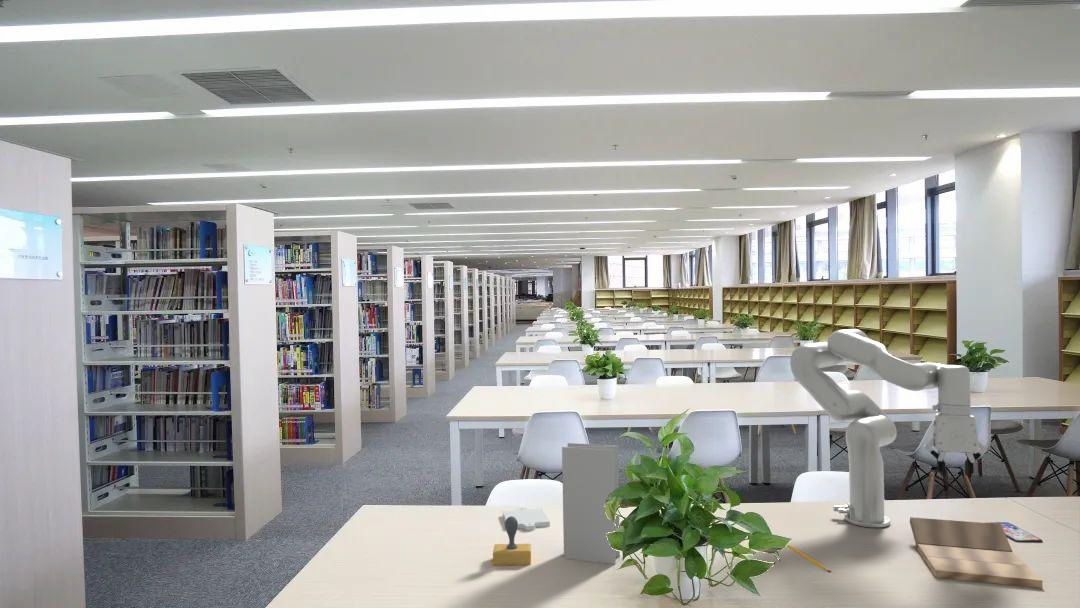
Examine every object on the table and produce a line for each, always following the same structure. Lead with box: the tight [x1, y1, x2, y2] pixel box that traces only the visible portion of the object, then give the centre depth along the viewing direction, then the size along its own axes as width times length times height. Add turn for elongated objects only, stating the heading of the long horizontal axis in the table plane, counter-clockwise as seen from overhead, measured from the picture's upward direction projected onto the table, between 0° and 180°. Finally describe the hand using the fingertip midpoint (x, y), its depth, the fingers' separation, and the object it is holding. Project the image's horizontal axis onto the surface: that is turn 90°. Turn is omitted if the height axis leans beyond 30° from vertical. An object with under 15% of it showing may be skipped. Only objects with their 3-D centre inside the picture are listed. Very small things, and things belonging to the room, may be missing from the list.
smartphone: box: [991, 521, 1043, 543], centre depth 188 cm, size 8×1×15 cm
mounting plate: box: [502, 507, 551, 532], centre depth 205 cm, size 18×13×2 cm
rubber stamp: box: [492, 516, 532, 566], centre depth 174 cm, size 10×6×12 cm, turn 89°
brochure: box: [561, 442, 621, 565], centre depth 175 cm, size 14×6×30 cm, turn 71°
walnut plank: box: [909, 516, 1013, 552], centre depth 177 cm, size 22×9×2 cm, turn 72°
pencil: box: [787, 544, 832, 573], centre depth 173 cm, size 1×19×1 cm, turn 12°
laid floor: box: [917, 544, 1043, 589], centre depth 164 cm, size 22×18×2 cm
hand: (955, 474), depth 179 cm, fingers open, 5 cm apart
